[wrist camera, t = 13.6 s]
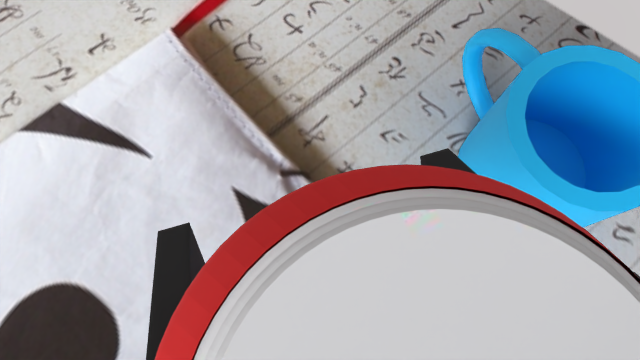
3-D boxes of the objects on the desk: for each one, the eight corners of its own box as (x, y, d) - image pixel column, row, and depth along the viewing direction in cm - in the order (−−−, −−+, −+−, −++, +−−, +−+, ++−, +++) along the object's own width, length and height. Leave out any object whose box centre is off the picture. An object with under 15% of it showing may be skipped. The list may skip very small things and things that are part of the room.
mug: (616, 203, 31) (723, 159, 23) (504, 268, 29) (577, 245, 22) (504, 46, 33) (564, -41, 26) (397, 99, 32) (427, 25, 24)
